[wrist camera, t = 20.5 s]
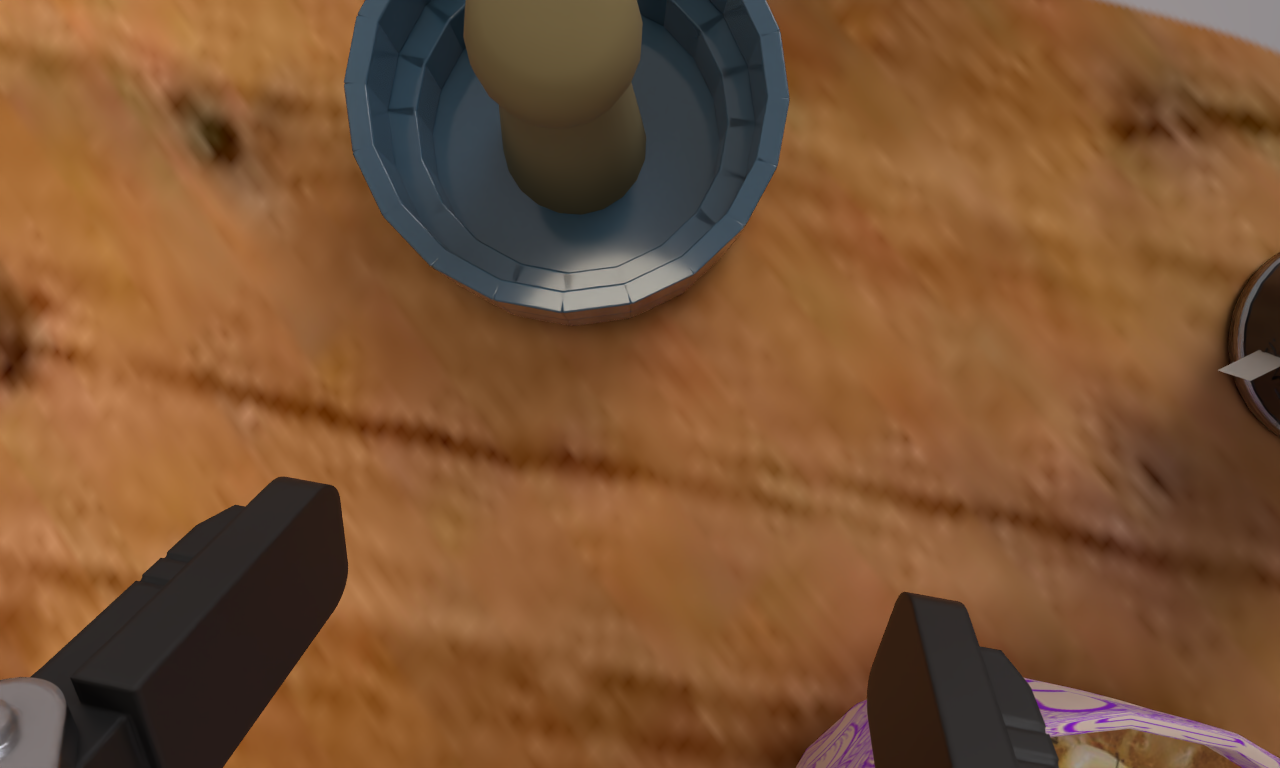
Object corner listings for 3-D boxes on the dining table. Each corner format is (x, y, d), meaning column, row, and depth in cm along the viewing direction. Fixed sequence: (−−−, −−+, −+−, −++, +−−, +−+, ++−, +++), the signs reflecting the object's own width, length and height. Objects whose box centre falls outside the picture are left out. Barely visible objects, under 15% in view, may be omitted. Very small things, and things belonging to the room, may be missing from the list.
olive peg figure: (673, 119, 31) (701, -35, 20) (600, 241, 30) (587, 156, 19) (549, 45, 30) (508, -152, 19) (476, 167, 30) (393, 39, 19)
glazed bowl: (663, -95, 31) (671, -199, 26) (818, 230, 31) (860, 195, 26) (334, 56, 31) (271, -17, 25) (491, 385, 31) (463, 384, 25)
